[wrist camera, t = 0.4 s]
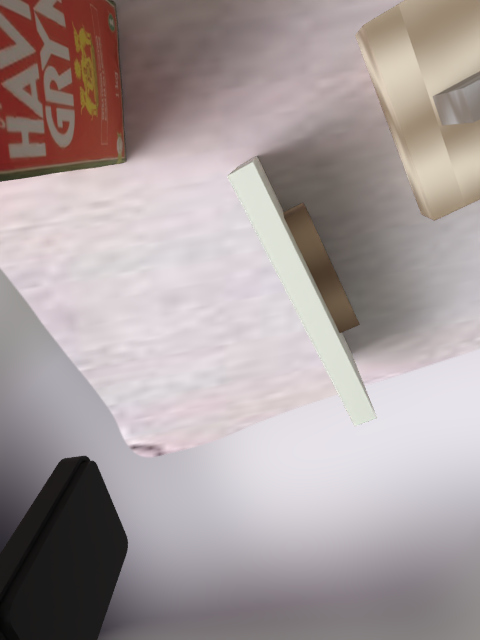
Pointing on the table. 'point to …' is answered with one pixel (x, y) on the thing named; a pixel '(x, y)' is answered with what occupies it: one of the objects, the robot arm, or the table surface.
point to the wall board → (301, 286)
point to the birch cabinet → (430, 96)
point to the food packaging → (59, 87)
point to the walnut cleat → (320, 267)
